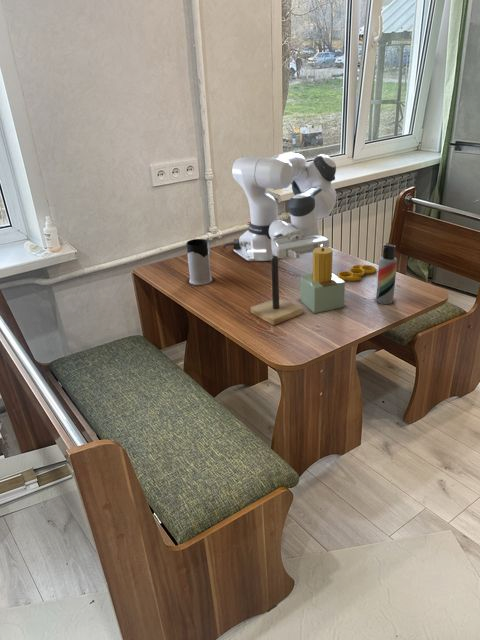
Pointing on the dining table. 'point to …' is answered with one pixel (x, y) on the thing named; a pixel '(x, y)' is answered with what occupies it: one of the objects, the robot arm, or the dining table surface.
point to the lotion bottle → (386, 275)
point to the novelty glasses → (356, 276)
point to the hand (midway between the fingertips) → (310, 253)
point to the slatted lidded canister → (323, 266)
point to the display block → (321, 294)
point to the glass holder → (199, 261)
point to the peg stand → (275, 302)
